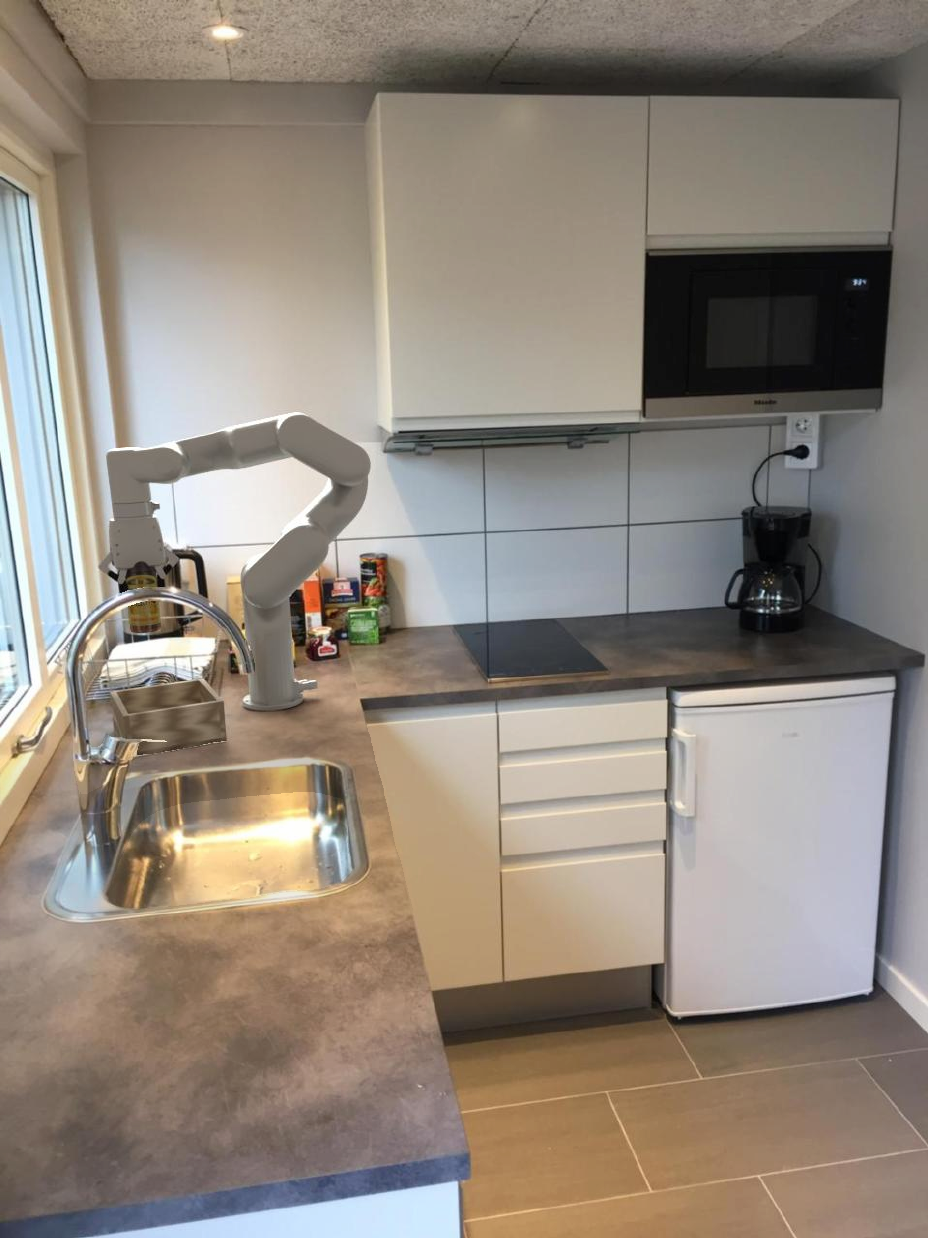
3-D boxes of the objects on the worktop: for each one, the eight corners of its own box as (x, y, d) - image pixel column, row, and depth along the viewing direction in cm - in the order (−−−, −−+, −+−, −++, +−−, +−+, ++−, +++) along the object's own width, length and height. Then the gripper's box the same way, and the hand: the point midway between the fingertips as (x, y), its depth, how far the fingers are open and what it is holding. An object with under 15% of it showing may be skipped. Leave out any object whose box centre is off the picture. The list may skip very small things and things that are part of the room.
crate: (206, 716, 206) (203, 678, 204) (227, 741, 190) (223, 701, 188) (114, 730, 198) (110, 691, 196) (127, 758, 182) (123, 716, 180)
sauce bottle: (129, 636, 201) (115, 537, 197) (131, 629, 207) (117, 533, 202) (163, 632, 203) (150, 534, 198) (164, 625, 209) (151, 530, 204)
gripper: (173, 505, 206) (183, 591, 210) (84, 513, 199) (96, 602, 203) (180, 508, 200) (190, 597, 204) (89, 516, 193) (101, 608, 197)
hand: (143, 599), depth 203 cm, fingers closed on sauce bottle, 6 cm apart
